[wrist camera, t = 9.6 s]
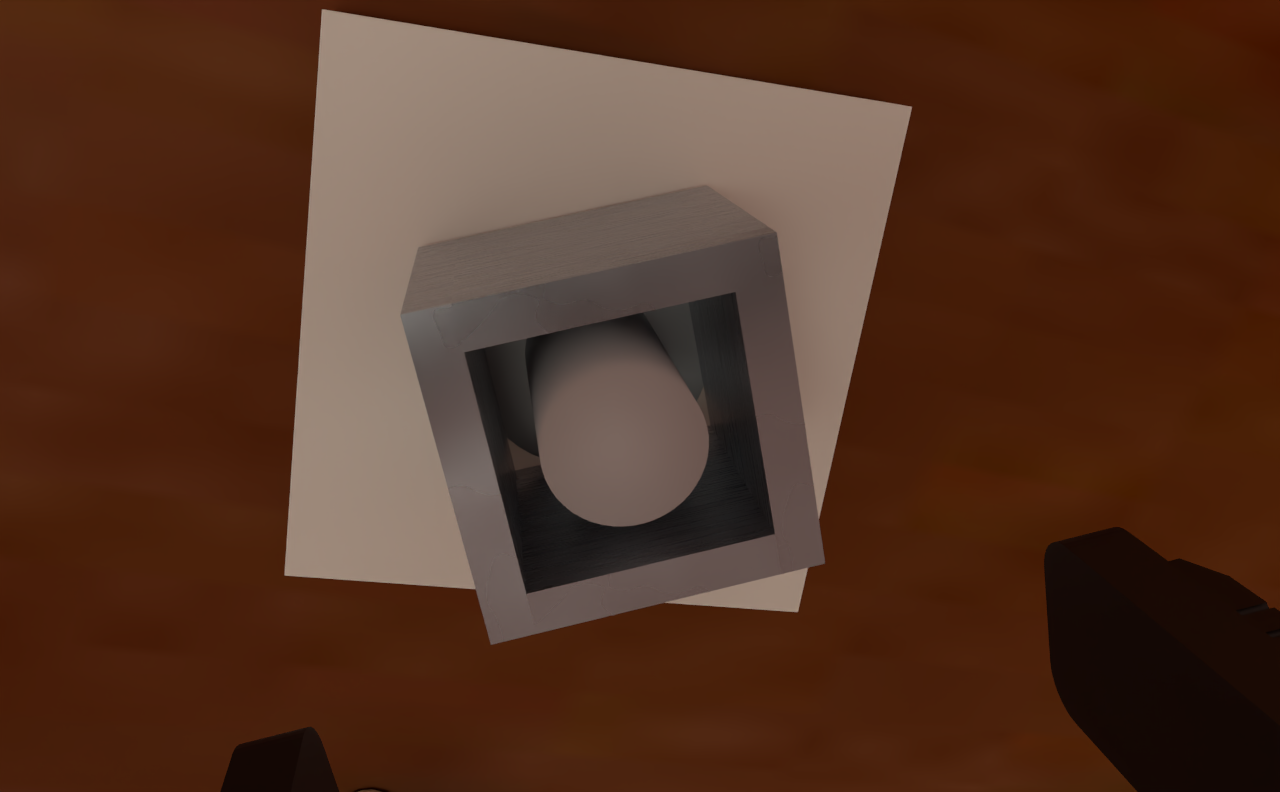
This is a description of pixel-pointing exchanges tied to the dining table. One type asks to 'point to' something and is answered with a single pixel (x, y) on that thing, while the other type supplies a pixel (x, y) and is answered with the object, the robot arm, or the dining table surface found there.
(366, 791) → the grandmother figurine
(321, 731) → the dining table surface
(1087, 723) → the robot arm
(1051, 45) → the dining table surface
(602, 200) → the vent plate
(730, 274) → the collar
